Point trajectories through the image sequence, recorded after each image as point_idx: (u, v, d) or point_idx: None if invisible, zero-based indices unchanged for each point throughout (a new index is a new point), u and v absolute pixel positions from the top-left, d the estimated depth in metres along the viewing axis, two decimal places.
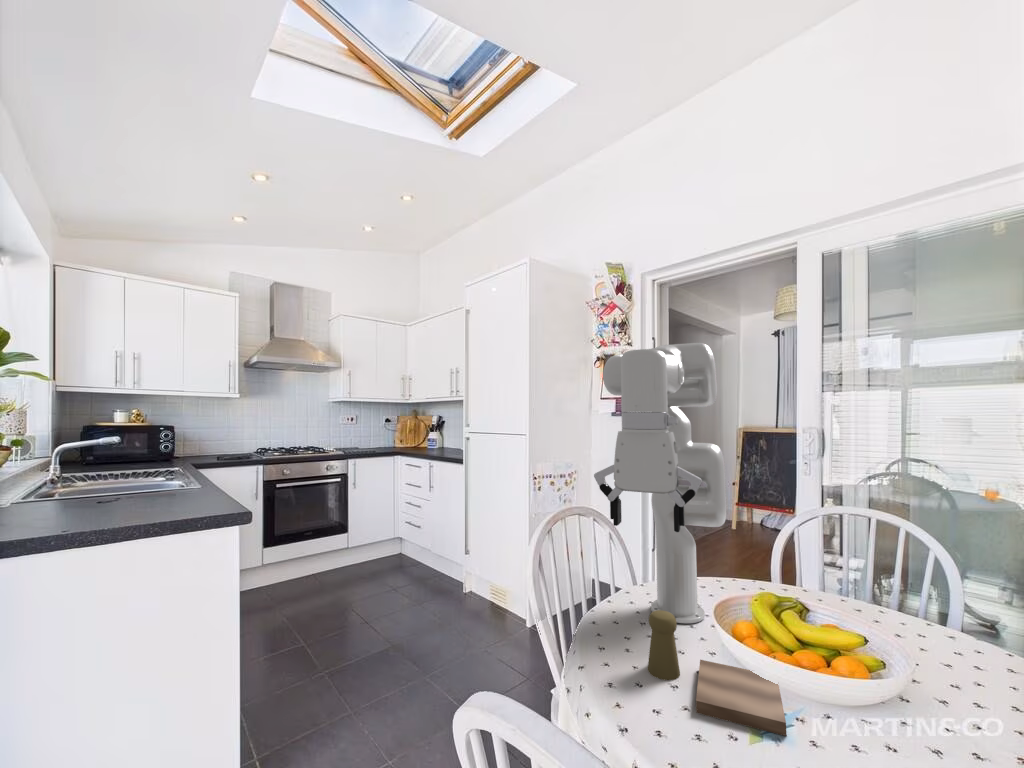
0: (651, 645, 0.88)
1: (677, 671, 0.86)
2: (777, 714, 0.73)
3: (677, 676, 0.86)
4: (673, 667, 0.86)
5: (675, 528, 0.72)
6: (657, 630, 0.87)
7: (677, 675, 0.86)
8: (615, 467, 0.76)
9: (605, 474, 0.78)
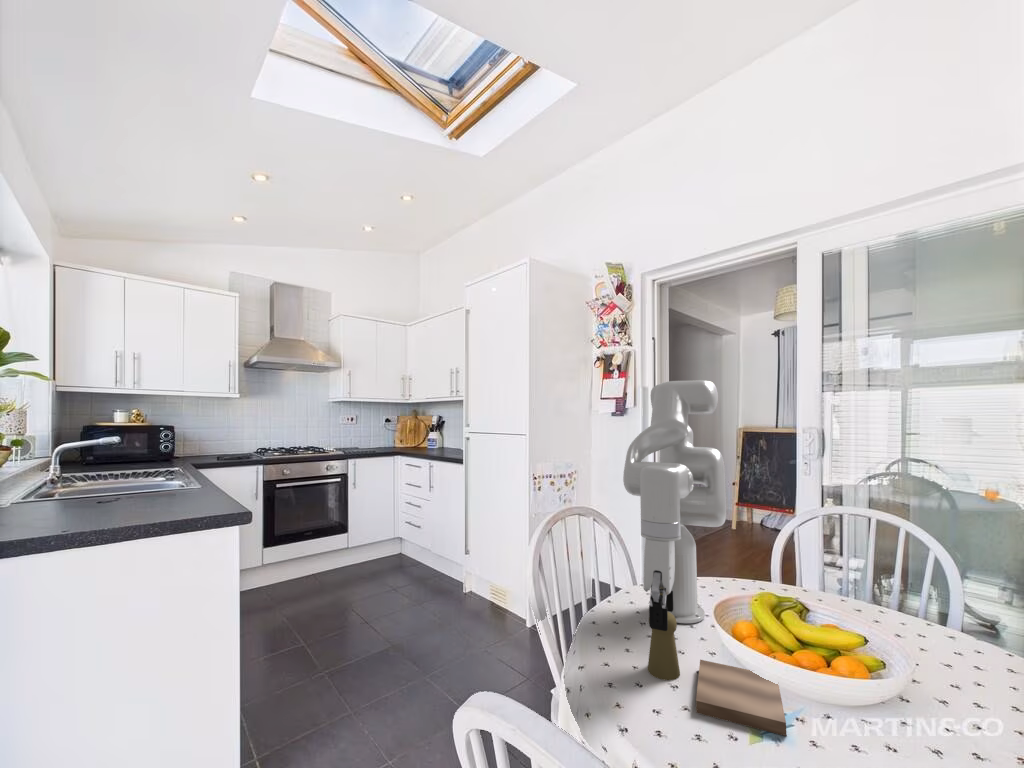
0: (651, 645, 0.88)
1: (677, 671, 0.86)
2: (777, 714, 0.73)
3: (677, 676, 0.86)
4: (673, 667, 0.86)
5: (672, 608, 0.92)
6: (657, 630, 0.87)
7: (677, 675, 0.86)
8: (669, 575, 0.84)
9: (659, 585, 0.83)
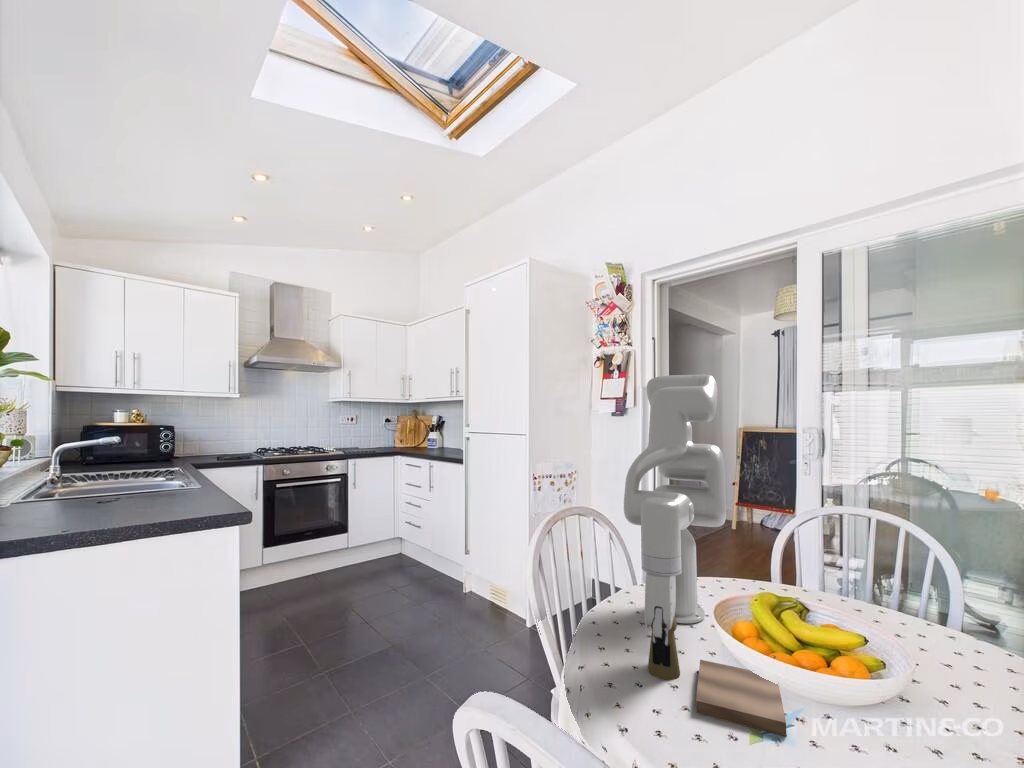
0: (651, 644, 0.89)
1: (677, 670, 0.86)
2: (777, 714, 0.73)
3: (677, 675, 0.86)
4: (673, 666, 0.86)
5: None
6: None
7: (677, 674, 0.86)
8: (670, 611, 0.84)
9: None
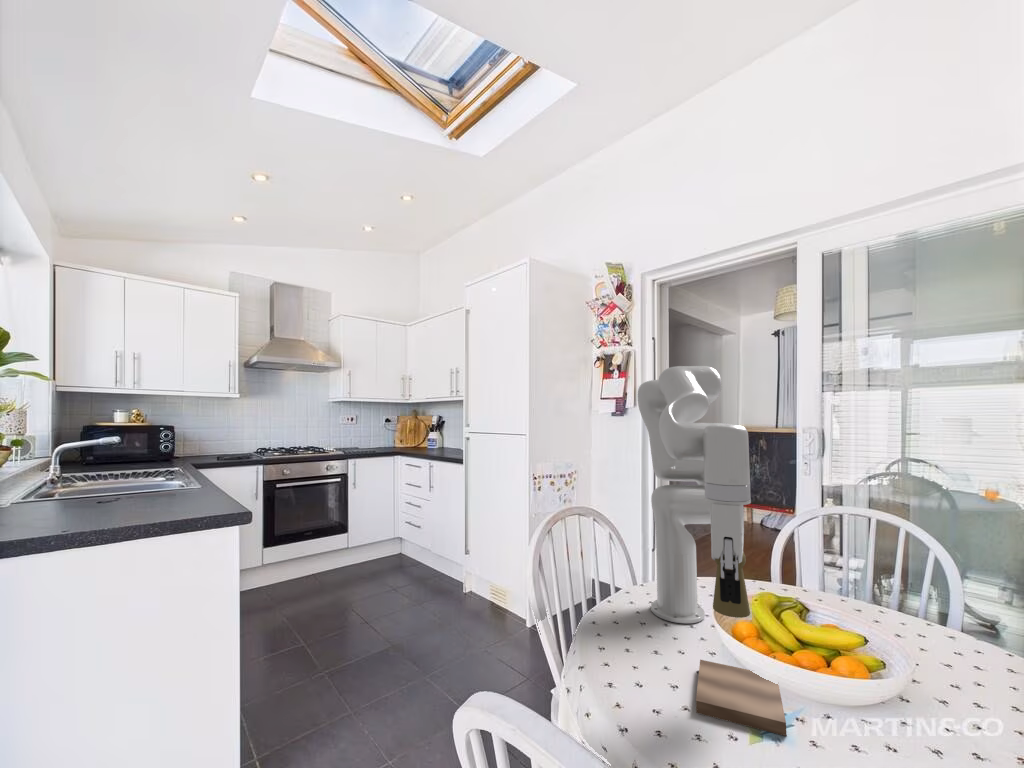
0: (717, 581, 0.81)
1: (747, 608, 0.79)
2: (777, 714, 0.73)
3: (748, 614, 0.79)
4: (743, 603, 0.79)
5: None
6: (724, 564, 0.80)
7: (748, 612, 0.79)
8: (741, 542, 0.77)
9: (732, 558, 0.77)
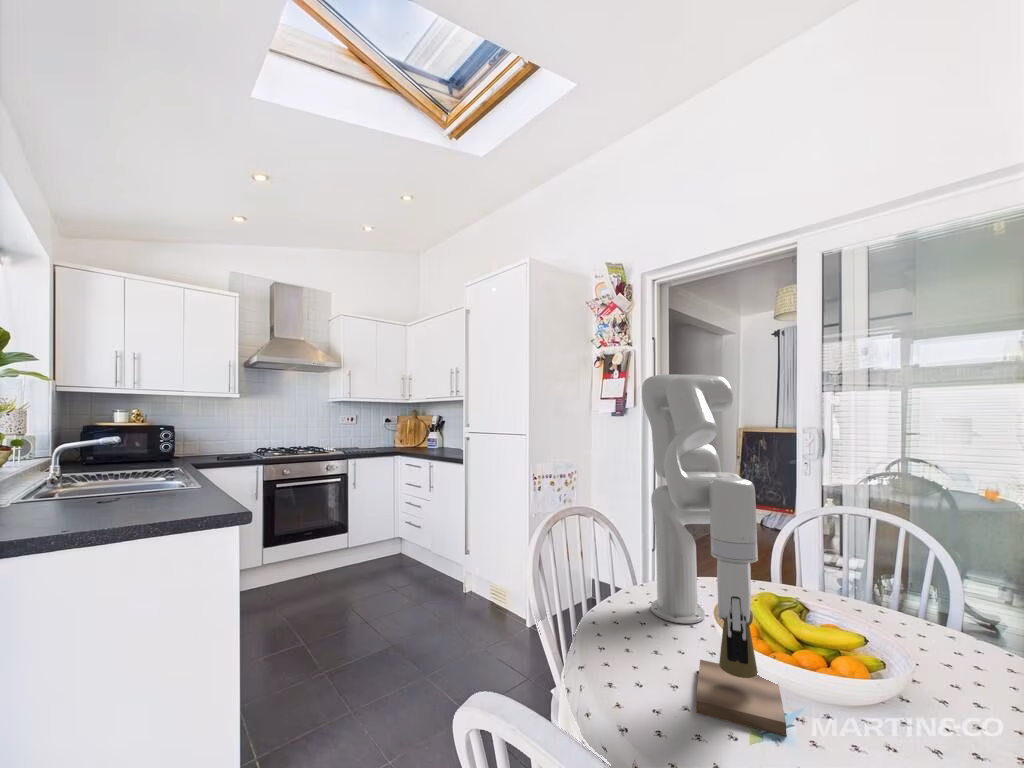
0: (724, 639, 0.80)
1: (755, 668, 0.78)
2: (777, 714, 0.73)
3: (755, 673, 0.77)
4: (751, 663, 0.77)
5: None
6: None
7: (755, 672, 0.78)
8: (749, 602, 0.76)
9: (740, 619, 0.75)
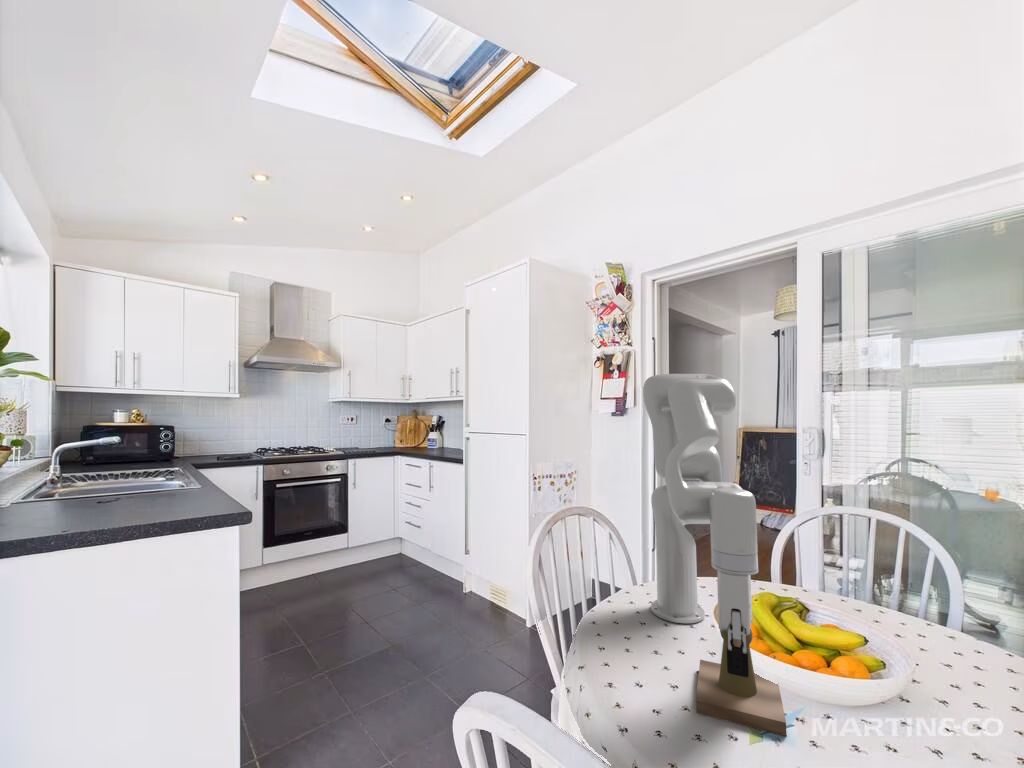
0: (724, 658, 0.80)
1: (754, 687, 0.78)
2: (777, 714, 0.73)
3: (755, 692, 0.78)
4: (750, 682, 0.78)
5: None
6: None
7: (755, 691, 0.78)
8: (749, 614, 0.76)
9: (740, 629, 0.75)
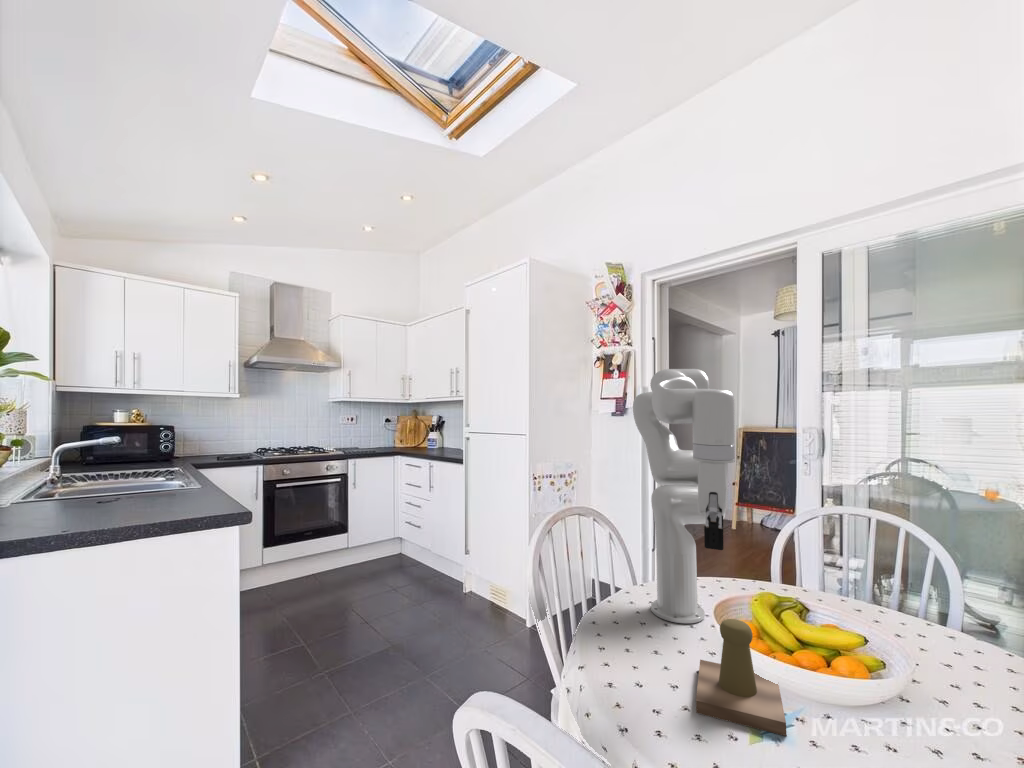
0: (724, 658, 0.80)
1: (754, 687, 0.78)
2: (777, 714, 0.73)
3: (755, 692, 0.78)
4: (750, 682, 0.78)
5: None
6: (731, 642, 0.79)
7: (755, 691, 0.78)
8: (725, 496, 0.84)
9: None
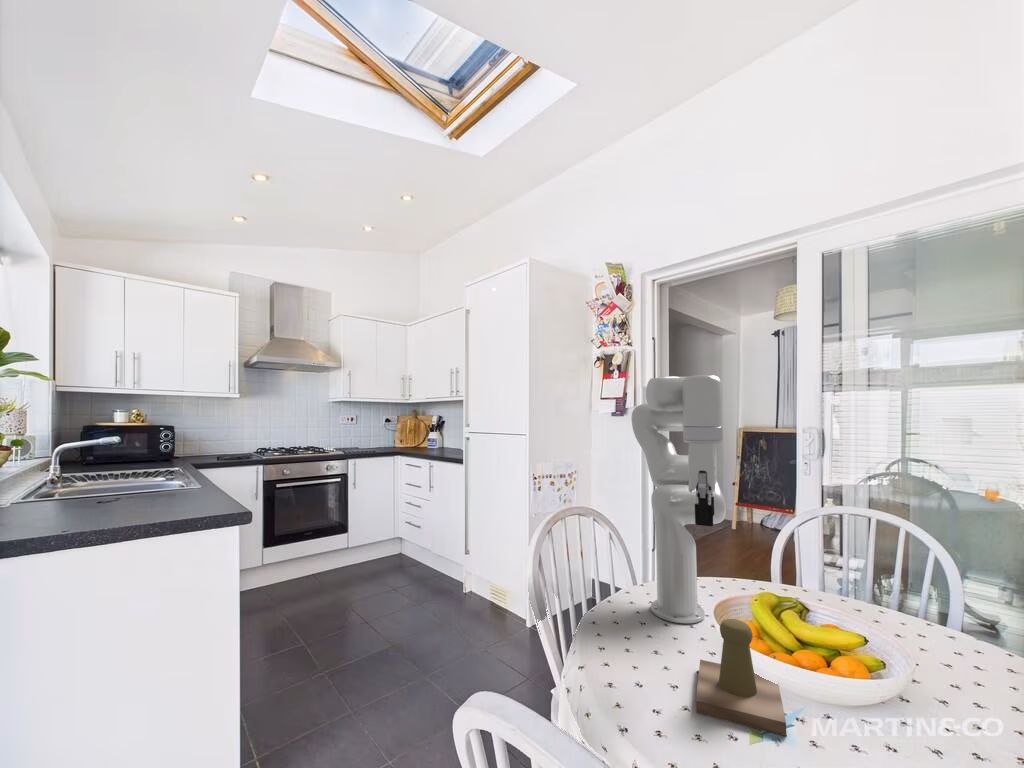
0: (724, 658, 0.80)
1: (754, 687, 0.78)
2: (777, 714, 0.73)
3: (755, 692, 0.78)
4: (750, 682, 0.78)
5: (714, 513, 0.96)
6: (731, 642, 0.79)
7: (755, 691, 0.78)
8: (713, 474, 0.88)
9: None
